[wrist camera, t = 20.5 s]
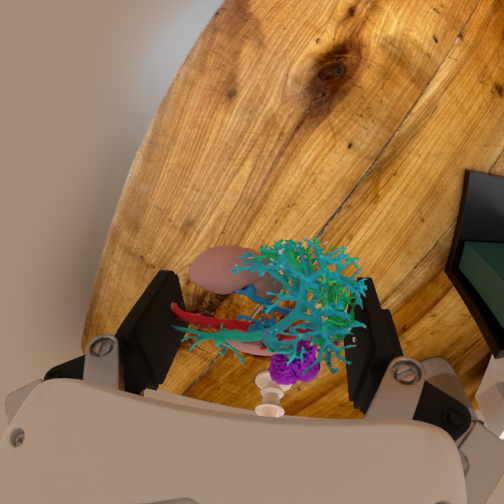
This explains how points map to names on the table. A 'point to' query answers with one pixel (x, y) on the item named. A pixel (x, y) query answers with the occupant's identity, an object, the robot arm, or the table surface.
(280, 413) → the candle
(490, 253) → the book
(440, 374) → the coffee cup
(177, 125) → the table surface
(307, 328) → the anatomy model
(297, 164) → the table surface
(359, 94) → the table surface
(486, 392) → the folded paper
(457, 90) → the table surface
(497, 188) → the book stand
